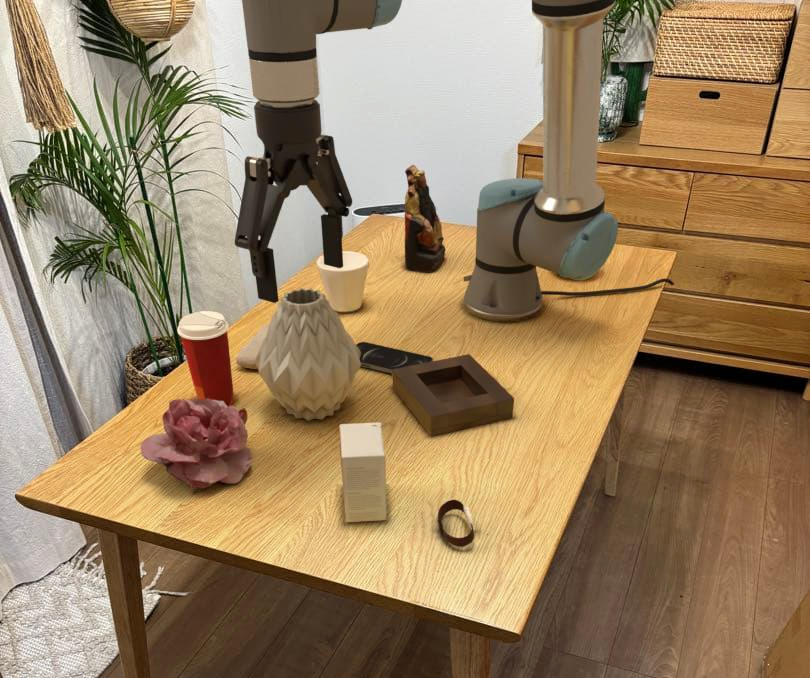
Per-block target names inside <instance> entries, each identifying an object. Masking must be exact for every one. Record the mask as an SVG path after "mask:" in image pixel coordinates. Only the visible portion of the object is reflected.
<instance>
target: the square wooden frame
mask: <svg viewBox="0 0 810 678" xmlns="http://www.w3.org/2000/svg"><path fill="white" fill-rule="evenodd" d="M391 381H392V382H391V383H392V384H391V385H392V389H393V391H394V392H395V393H396V395H397V396H398V397H399V398H400V399H401V401H402V402H403V403H404V405H405V406H406V407H407V408H408V410H409V411H410V412H411V413H412V415H413V416H414V417H415V419H416V420H417V421H418V422H419V423H420V425H421V426H422V427H423V429H424V430H425V431H426V432H427V433H428V435H429V436H430V437H435V436H438V435H443V434H447V433H452V432H456V431H460V430H465V429H468V428H474V427H477V426H483V425H487V424H491V423H495V422H501V421H505V420H509V419H512V418H513V416H514V406H515V397H514V396H513V395H512V394H511V393H510V392H509V391H508V390H506V389H505V388H504V387H503V386H502V385H501V383H500V382H498V381H497V379H496V378H494V377H493V376H492V375H491V374H490V372H488V371H487V370H486V369H485V368H484V367H483V366H482V365H481V364H480V363H479V361H477V360H476V359H475V358H474V357H473V356H472V355H471V354H470V353H467V354H463V355H458V356H453V357H448V358H441V359H437V360H433V361H432V362H427V363H422V364H417V365H412V366H407V367H402V368H397V369H392V375H391Z"/></svg>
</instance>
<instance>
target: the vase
mask: <svg viewBox="0 0 810 678" xmlns="http://www.w3.org/2000/svg"><path fill="white" fill-rule="evenodd" d="M269 323H270V324H269ZM269 323H268V324H269V328H268V332H267V335H266V337H265V339H264V340H263V342H262V344H261V347H260V349H259V352H258V354H257V357H256V359H255V363H256V365H257V367H258V369H257V370H258V376H260V378H261V379H262V380H263V382H265V384H266V386H267V388H268V389H269V391H270V393H271V395H272V396H273V397H274V398H275V399H276V400H277V401H278V403H279V404H280V405H281V406H282V407H283V408H285V409H286V412H287V414H288V415H294V418H295V420H296V419H305V420H306V421H308V422H309V421H311V420H313V419H317V420H324V418H325V417H328V416H334V413H335V411H338V410H340V409H341V403H344V401H345V399H346V397H347V396H348V394H349V393H350V391H351V390H352V387H353V384H354V381H355V379H356V375H357V373H358V372H359V370H360V369H361V367H362V366H361V363H360V360H359V359H360V355H361V352H360V350H359V349H358V347H357V346H356V344H357V343H356V342H355V341H354V339H353V338H352V336H351V335H350V333H349V332H348V331H347V330H346V328H345V326H344V324H343V322H342V319H341V318H340V316H339V314H338V312H336V311H335V310H334V309H332V307H331V305H330V304H329V302H328V299H327V297H326V293H322V292H321V290H319V289H318V290H314V288H312V287H311V288H307V289H305V288H303V287H301V288H299V289H291V290H290V292H284V293H283V296H281V297H280V302H278V304H277V308H276V311H275V312H274V313H273V315H271V317H270V321H269Z"/></svg>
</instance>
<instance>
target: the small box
mask: <svg viewBox="0 0 810 678" xmlns="http://www.w3.org/2000/svg"><path fill="white" fill-rule="evenodd" d="M338 427H339V453H340V454H339V455H340V467H341V468H340V469H341V480H342V493H343V503H344V518H345V523H359V522H361V523H362V522H377V521H386V520H387V468H386V467H387V466H386V464H387V463H386V453H385V446H384V437H383V430H382V427H383V425H382V422H360V423H340V424H339V426H338Z"/></svg>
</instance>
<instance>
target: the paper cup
mask: <svg viewBox="0 0 810 678" xmlns="http://www.w3.org/2000/svg"><path fill="white" fill-rule="evenodd" d="M229 327H230V326H229V322H227V321H226V319H225V316H223V314H222V313H219V312H217V311H209V310H201V311H196V312H193V313H192V312H191V313H188V314H186V315H185V316H183V317H181V318H180V320H179V322H178V326H177V327H176V329H177V334H178V335H179V336H180V339H181V342H182V346H183V350H184V354H185V357H186V361H187V365H188V368H189V369H188V370H189V373H190V376H191V379H192V383H193V386H194V387H193V388H194V391H195V394H196V399H208V398H209V399H211V400H218V401H224V403H225V404H226V405H227V406H228V407H229V406H230V405H231V406H232V405H233V403H234V401H235V400H234V399H235V397H234V385H233V374H232V365H231V356H230V354H231V353H230V343H229V335H228V330H229Z"/></svg>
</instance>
